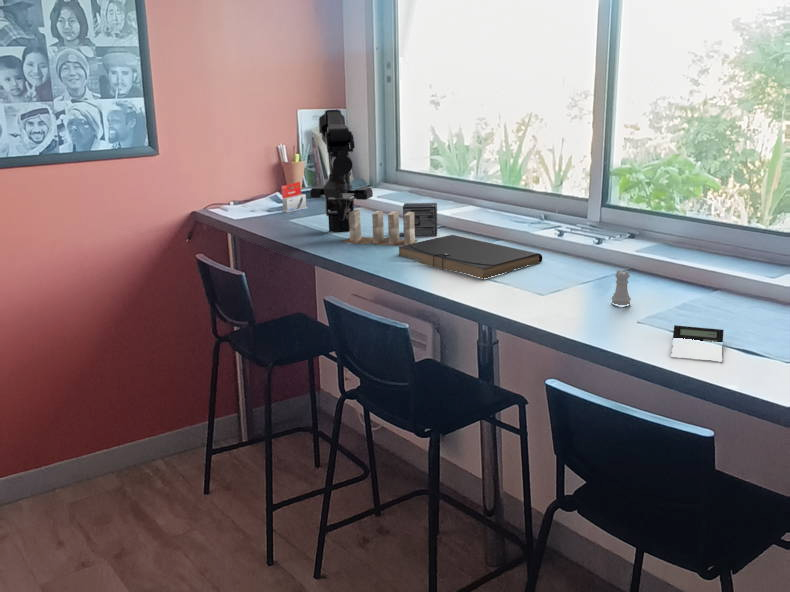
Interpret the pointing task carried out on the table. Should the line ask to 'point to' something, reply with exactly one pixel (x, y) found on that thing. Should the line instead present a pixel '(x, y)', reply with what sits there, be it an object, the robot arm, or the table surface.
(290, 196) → the ink cartridge box
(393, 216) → the domino
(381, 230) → the domino
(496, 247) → the book
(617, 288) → the rook chess piece
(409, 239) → the domino
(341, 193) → the robot arm
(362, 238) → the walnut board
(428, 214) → the small box
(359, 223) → the domino
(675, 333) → the calculator
